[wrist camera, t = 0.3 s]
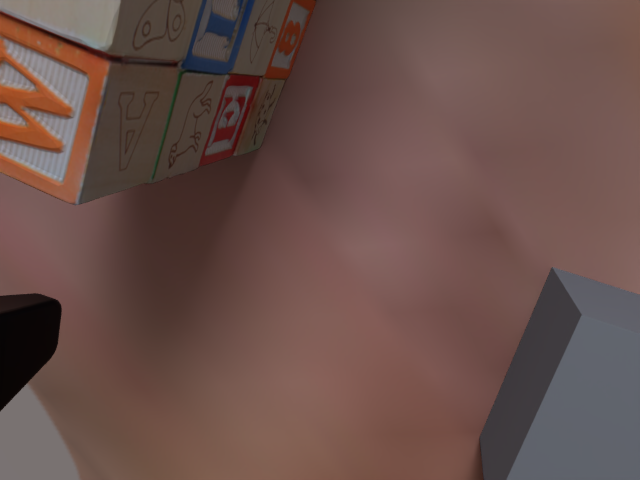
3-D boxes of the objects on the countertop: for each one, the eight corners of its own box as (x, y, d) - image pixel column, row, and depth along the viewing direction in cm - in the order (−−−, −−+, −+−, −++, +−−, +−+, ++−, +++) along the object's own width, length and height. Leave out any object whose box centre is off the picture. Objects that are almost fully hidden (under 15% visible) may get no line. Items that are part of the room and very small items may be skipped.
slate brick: (585, 473, 23) (621, 571, 18) (479, 435, 24) (487, 520, 19) (671, 304, 21) (739, 366, 16) (551, 266, 21) (581, 314, 16)
